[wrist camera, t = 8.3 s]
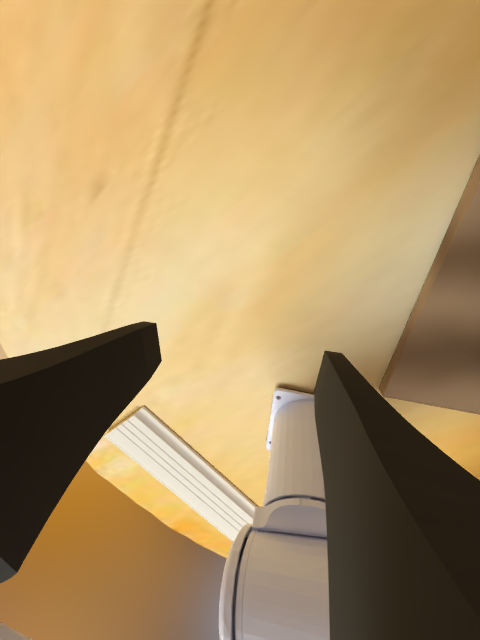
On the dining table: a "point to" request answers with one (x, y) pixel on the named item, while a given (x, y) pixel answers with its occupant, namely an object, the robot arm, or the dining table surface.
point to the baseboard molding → (183, 471)
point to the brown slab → (445, 321)
